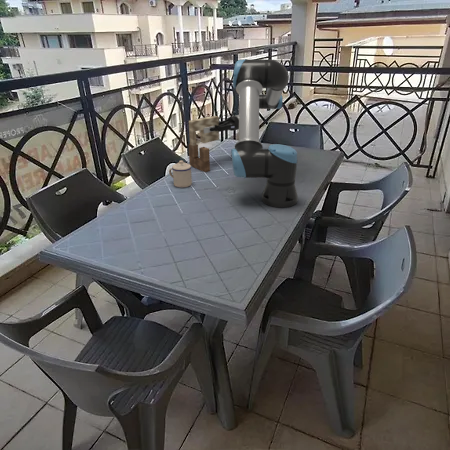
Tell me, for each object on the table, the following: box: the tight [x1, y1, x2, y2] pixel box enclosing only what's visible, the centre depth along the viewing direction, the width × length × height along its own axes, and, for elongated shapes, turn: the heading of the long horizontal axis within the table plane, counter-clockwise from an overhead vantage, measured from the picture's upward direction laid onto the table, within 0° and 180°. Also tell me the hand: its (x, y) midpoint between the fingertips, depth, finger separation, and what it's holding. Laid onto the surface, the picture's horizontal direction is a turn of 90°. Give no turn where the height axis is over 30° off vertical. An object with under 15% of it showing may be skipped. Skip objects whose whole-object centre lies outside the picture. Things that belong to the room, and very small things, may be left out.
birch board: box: [188, 115, 220, 146], centre depth 179 cm, size 17×3×12 cm, turn 131°
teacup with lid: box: [168, 160, 193, 188], centre depth 164 cm, size 12×9×12 cm
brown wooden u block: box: [187, 143, 211, 173], centre depth 183 cm, size 14×3×12 cm, turn 41°
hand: (202, 129), depth 178 cm, fingers closed on birch board, 3 cm apart
